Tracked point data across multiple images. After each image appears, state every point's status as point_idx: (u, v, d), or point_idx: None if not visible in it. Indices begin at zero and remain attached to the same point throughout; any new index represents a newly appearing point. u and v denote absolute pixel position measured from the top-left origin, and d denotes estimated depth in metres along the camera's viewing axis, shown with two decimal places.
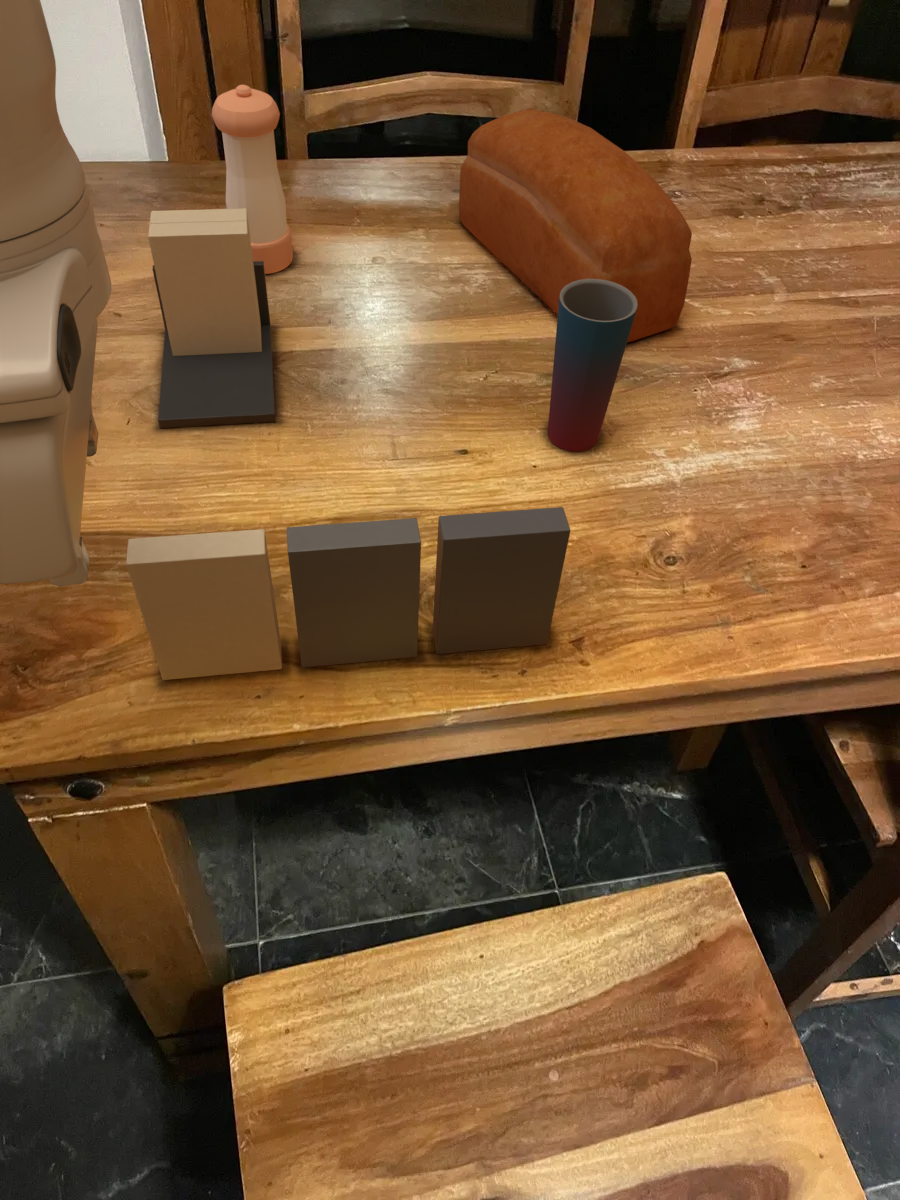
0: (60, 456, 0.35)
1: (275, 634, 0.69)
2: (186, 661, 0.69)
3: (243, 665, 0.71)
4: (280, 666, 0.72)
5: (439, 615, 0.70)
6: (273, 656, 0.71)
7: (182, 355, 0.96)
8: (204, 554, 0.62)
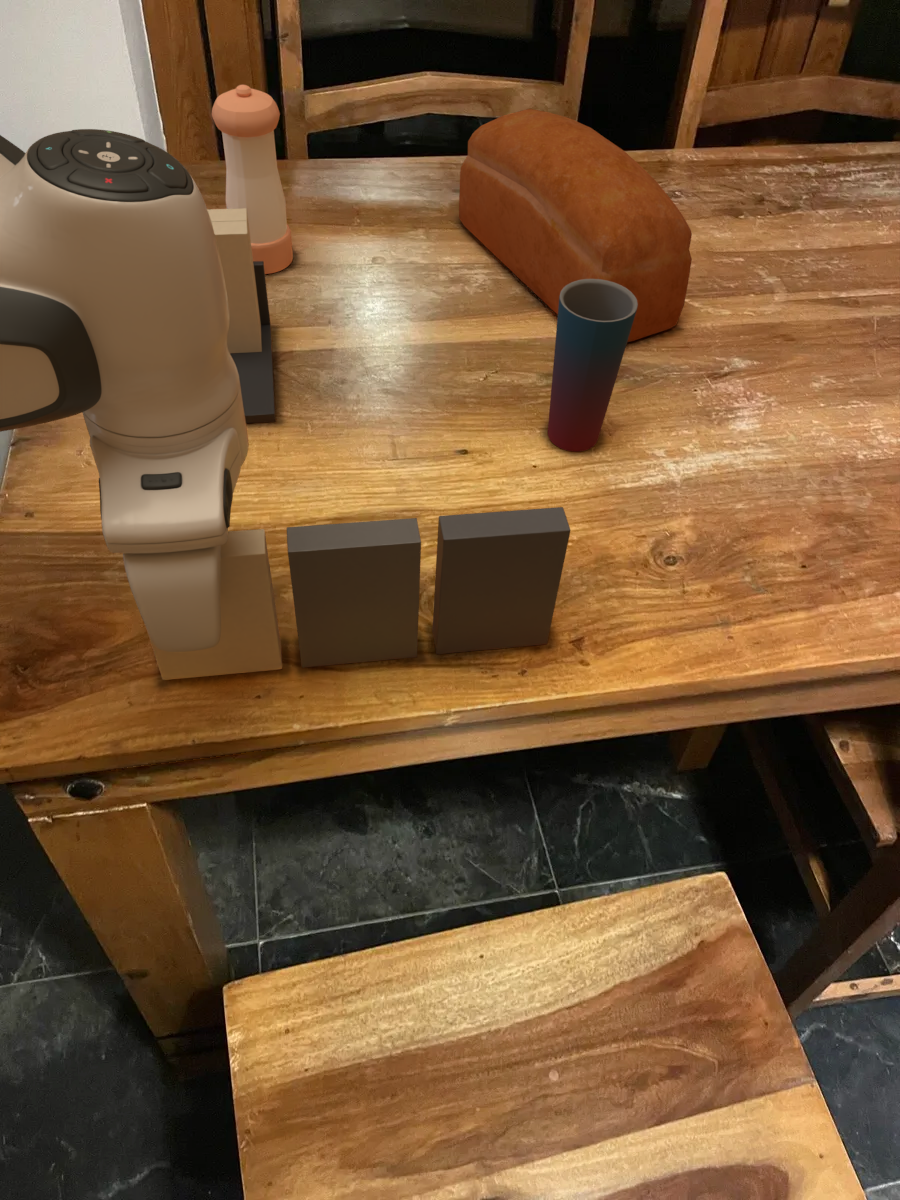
0: (218, 570, 0.52)
1: (275, 634, 0.69)
2: (186, 661, 0.69)
3: (243, 665, 0.71)
4: (280, 666, 0.72)
5: (439, 615, 0.70)
6: (273, 656, 0.71)
7: None
8: None
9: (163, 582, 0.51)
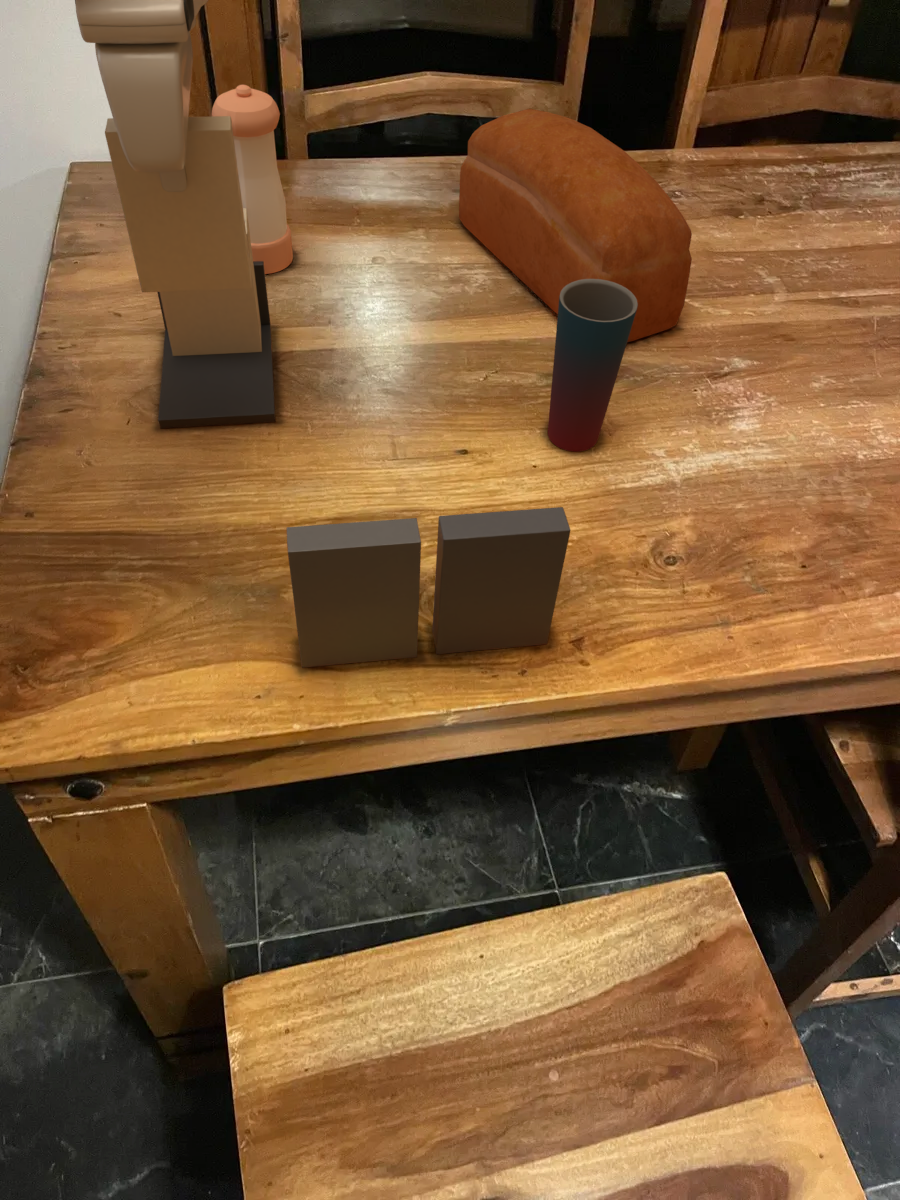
0: (181, 72, 0.59)
1: (243, 239, 0.75)
2: (162, 269, 0.76)
3: (215, 279, 0.78)
4: (249, 283, 0.78)
5: (439, 615, 0.70)
6: (242, 269, 0.77)
7: (182, 355, 0.96)
8: None
9: (131, 75, 0.58)
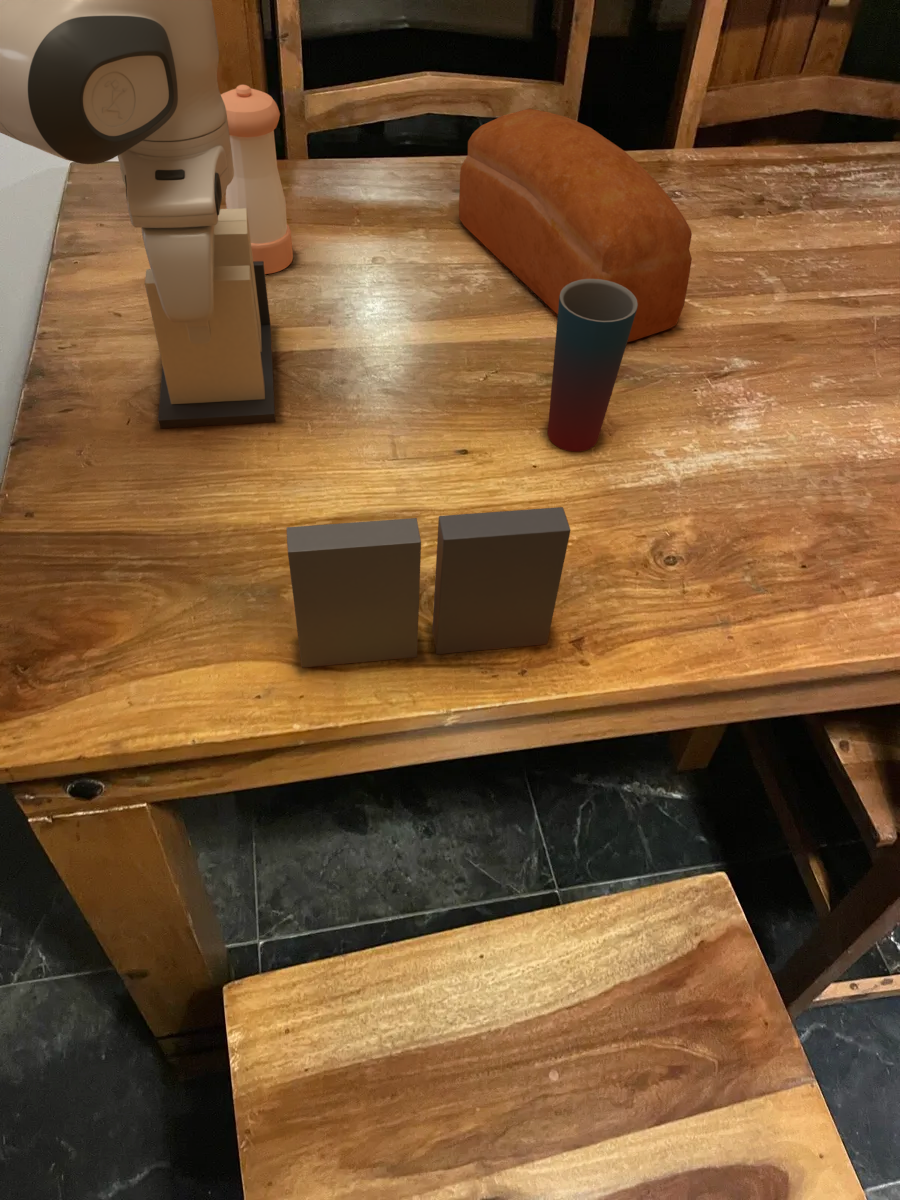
0: (211, 248, 0.72)
1: (259, 362, 0.89)
2: (189, 386, 0.89)
3: (234, 392, 0.91)
4: (263, 396, 0.92)
5: (439, 615, 0.70)
6: (257, 384, 0.90)
7: None
8: None
9: (171, 252, 0.71)
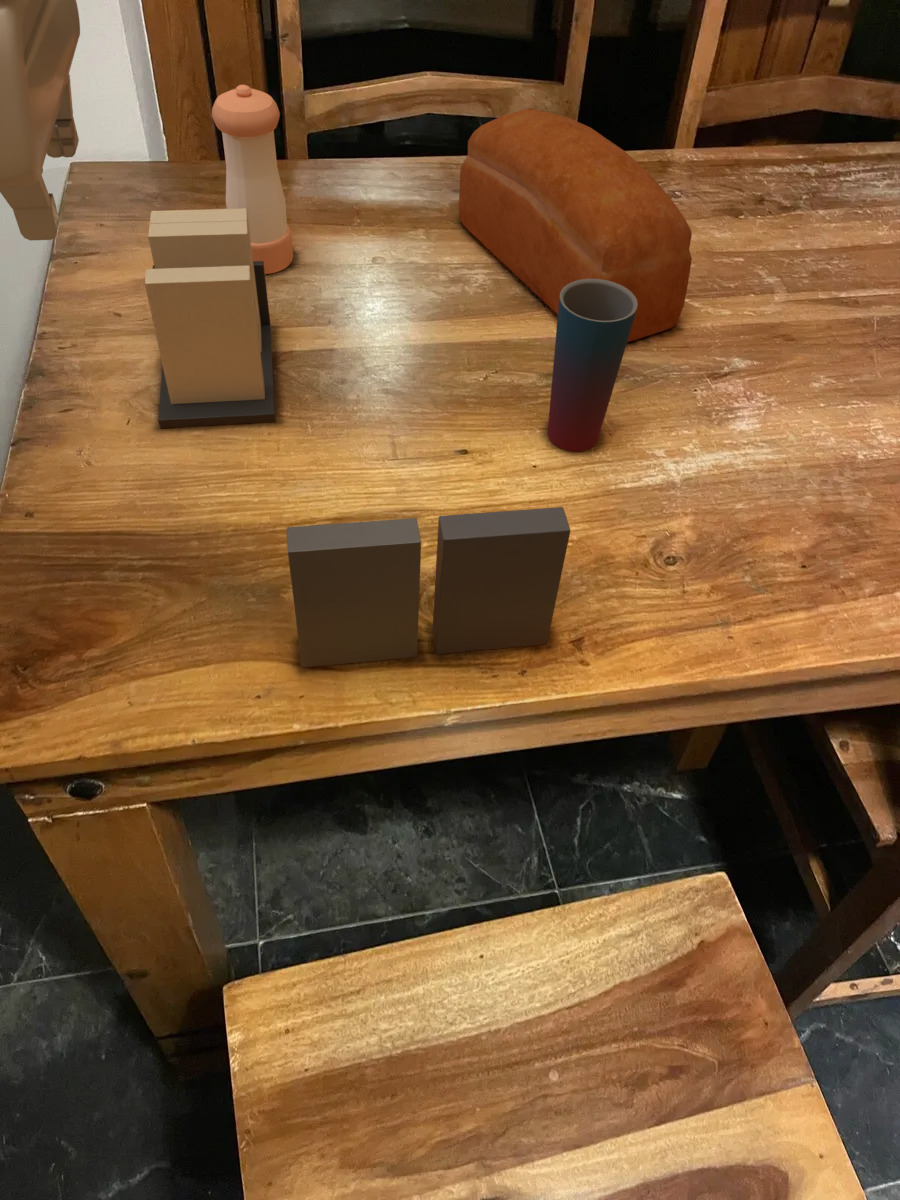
0: (20, 38, 0.39)
1: (259, 362, 0.89)
2: (189, 386, 0.89)
3: (234, 392, 0.91)
4: (263, 396, 0.92)
5: (439, 615, 0.70)
6: (257, 384, 0.90)
7: None
8: (203, 278, 0.82)
9: None
